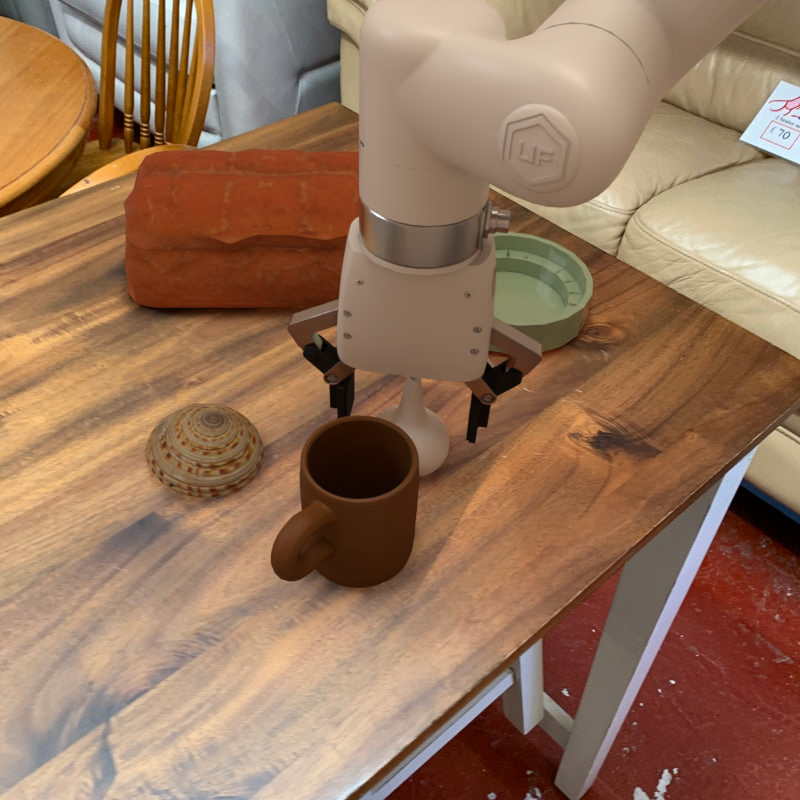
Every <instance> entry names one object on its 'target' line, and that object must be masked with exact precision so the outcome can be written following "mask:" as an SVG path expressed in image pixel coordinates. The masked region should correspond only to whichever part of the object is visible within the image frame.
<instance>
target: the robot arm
mask: <svg viewBox="0 0 800 800" xmlns="http://www.w3.org/2000/svg"><path fill="white" fill-rule="evenodd" d="M768 1H769V0H564V1H563V3H561V4H560V6H559V7H557V9H556V10H555V11H554V12H553V13H551V15H550V16H548V18H546V19H545V20H544V21H543V22H542V23H541V24H540V25H539V27H538V28H537V29H536V30H535V31H534V32H533V33H531V34H529V35H525V36H522V37H519V38H515V39H508V34H507V28H506V25H505V24H506V23H505V21H504V19H503V16H502V15H501V13H500V12H499V10H498V9H497V8H495V6H493V4H491V3H490V2H489V1H487V0H376V1H374V2H373V3H372V4H371V5H370V6H369V7H368V9H367V11H366V12H365V13H364V16H363V18H362V21H361V25H360V29H359V43H358V44H359V45H358V152H359V217H357V218H356V219H355V220H354V221H353V222H352V223H351V226H350V229H349V233H348V237H347V242H346V248H345V254H344V260H343V266H342V273H341V281H340V292H339V299H337V300H334V301H331V302H328V303H325V304H322V305H319V306H313V307H309V308H306V309H304V310H300V311H298V312H295V313H293V314H292V315H291V316H290V319H289V322H288V324H287V327H286V330H287V332H288V334H289V335H290V337H291V338H292V340H294V342H295V344H296V345H297V346H298V348H300V349H301V351H302V356H303V358H304V359H305V360H306V361H307V362H308V363H310V365H312V366H313V367H315V369H317V370H318V371H319V372H320V373H322V374H323V375H322V379H323V381H324V382H325V384H327V385H329V386H328V387H329V388H328V389H329V408H330V409H336V417H337V418H336V419H338V418H342V417H346V416H352V415H351V414H352V411H353V406H354V403H355V398H356V397H355V396H356V394H355V391H356V388H355V387H356V386H355V383H356V382H355V381H356V380H355V377H356V376H355V371H356V370H360V371H365V372H371V373H379V374H383V375H384V374H386V375H391V376H392V375H393V376H400V377H406V378H407V377H416V378H421V379H425V380H432V381H443V382H451V383H452V382H453V383H464V384H465V385H466V387H467V388H468V389H469V390H470V392H471V396H470V403H469V410H468V419H467V428H466V436H465V441H467V442H468V443H469V444H476V442H477V435H478V428H482V429H483V428H484V429H488V426H489V419H490V414H491V408H492V407H491V406H492V405H494V404H495V403H496V402H497V401H498V400H497V399H498V397H499V396H501V395H502V394H504V393H506V392H509V391H510V390H513V389H514V388H515V387H517V386H520V385H521V383H522V381H523V378H524V377H526V376H528V375H530V373H531V372H532V371H533V370H534V369H535V368H536V367H538V365H540V363H541V362H542V360H543V352H542V345H541V344H540V343H539V342H537V341H535V340H534V339H532V338H530V337H528V336H527V335H525V334H523V333H522V332H520V331H518V330H517V329H515V328H513V327H511V326H510V325H508V324H506V323H505V322H503V321H501V320H499V319H498V318H496V317H494V316H493V315H494V303H495V291H496V250H495V242H494V236H493V234H495V232H500V233H508V232H509V230H510V222H511V213H512V212H511V210H509V209H508V210H507V209H500V208H499V206H493V200H489V194H490V187H491V186H493V187H495V188H496V189H499V190H501V191H502V192H505V193H507V194H509V195H511V196H512V197H515V198H516V199H517V198H518V199H519V200H523V201H525V202H528V203H530V204H534V205H537V206H541V207H545V208H546V207H547V208H559V209H561V208H564V209H565V208H572V207H577V206H581V205H584V204H586V203H588V202H590V201H593V200H594V199H595V198H597V197H599V196H600V195H601V194H603V193H604V192H605V191H606V190H608V189H609V187H610V186H611V185H612V184H613V183H614V181H615V180H616V179H617V178H618V177H619V175H621V173H622V170H623V169H624V168H625V166H626V164H627V163H628V161H629V158H630V157H631V155H632V153H634V152H633V151H635V148H636V146H637V145H638V143H639V141H640V139H641V137H642V135H643V133H644V132H645V129H646V127H647V125H648V123H649V122H650V120H651V118H652V116H653V115H654V113H655V111H656V109H657V108H658V106H659V105H660V103H661V101H662V100H663V99H664V98H665V96H667V94H668V93H669V92H670V91H671V90H672V89H673V88H674V87H675V86H676V85H677V84H678V83H679V82H680V81H681V80H682V79H683V78H684V77H685V76H686V75H687V74H689V73H690V71H691V70H692V69H694V68H695V66H697V65H698V64H699V63H700V62H701V61H702V60H703V59H704V58H705V57H707V55H708V54H710V53H711V52H712V51H713V50H714V49H715V48H716V47H717V46H719V44H721V43H722V42H723V41H724V40H725V39H726V38H727V37H728V36H729V35H730V34H732V32H734V31H735V30H736V29H737V28H738V27H739V26H741V24H743V23H744V22H745V21H746V20H747V19H748V18H749V17H751V16H752V15H753V14H754V13H755V12H756V11H758V10H759V9H761V8H762V6H763V5H765V4H766V3H767V2H768ZM490 185H491V186H490ZM334 327H336V346H334V345H333V344H331V343H330V342H329V341H328V339H326V338H325V337H324V336H323V335H321V334H319V333H318V332H321V331H324V330H327V329H330V328H334ZM490 344H492V345H494V346H495V347H497V348H499V349H501V350H502V351H504V352H506V353H505V354H507V355H509V356H511V357H510V358H507V359H506V360H504V361H502V362H500V363H498V364H497V365H495V364H494V363H493V361H491V359H490V358H489V352H490V351H489V348H490Z"/></svg>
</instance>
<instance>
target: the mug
mask: <svg viewBox="0 0 800 800" xmlns="http://www.w3.org/2000/svg"><path fill="white" fill-rule="evenodd" d="M299 459H300V460H299V493H300V507H301V510H300V511H298V512H296V513H295V514H293V515H292V516H291V517H290V518H289V519H288V520H287V521H286V522H285V523H284V524H283V526H282V527H281V529H280V530H279V532H278V533H277V535H276V537H275V539H274V541H273V542H272V543H273V544H272V548H271V551H270V565H271V568H272V570H273V573H274V575H276V576H277V578H279V579H280V580H282V581H285V582H288V583H289V582H297V581H301V580H304V578H306V577H307V576H309V575H310V574H312V573H313V572H314V571H316V572H317V573H318V574H319V575H320V576H321V577H323V578H324V579H325V580H328V581H329V582H331V583H333V584H334V585H338V586H341V587H345V588H350V589H369V588H373V587H377V586H380V585H382V584H384V583H386V582H389V581H391V579H393V578H395V577H397V575H398V574H400V573H401V571H402V570H403V569H404V568H405V566H406V565H407V563H408V561H409V560H410V558H411V555H412V552H413V550H414V549H413V548H414V542H415V534H416V524H417V522H416V521H417V516H418V505H419V504H418V503H419V492H420V477H419V456H418V451H417V448H416V446H415V444H414V442H413V441H412V439H411V438H410V437H409V435H408V434H407V433H406V432H405V431H404V430H403V429H401V428H400V427H399V426H397V425H395V424H394V423H392V422H389V421H387V420H384V419H381V418H378V417H376V416H373V415H365V414H363V415H361V414H358V415H357V414H356V415H350V416H346V417H342V418H338V419H337V418H335V419H331V420H330V421H327V422H326V423H324V424H322V425H321V426H319V427H318V428H316V429H315V430H313V432H312V433H311V434H310V435H309V437H308V438H307V440H306V441H305V443H304V445H303V446H302V450H301V452H300V458H299Z"/></svg>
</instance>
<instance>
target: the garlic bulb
mask: <svg viewBox="0 0 800 800" xmlns="http://www.w3.org/2000/svg"><path fill="white" fill-rule="evenodd" d="M375 417H378V418H381V419H384V420H387V421H389V422H392V423H394V424H395V425H397V426H399V427H400V428H401V429H403V430H404V431H405V432H406V433H407V434H408V435H409V437H410V438H411V439H412V441H413V442H414V444H415V446H416V448H417V451H418V456H419V478H420V477H421V478H422V477H425V476H427V475H430V474H432V473H434V472H435V471H436V470H438V469H439V468H440V467H441V466H442V465H443V464H444V462H445V460H446V459H447V456H448V453H449V450H450V436H449V432H448V429H447V426H446V425H445V423H444V422H443V420H442V419H441V418H440V417H439V416H438V415H437V414H436V413H435V412H434V411H432V409H431V410H430V409H429V408H427V407H425V402H424V391H423V384H422V378H416V377H407V376H406V377H405V381H404V386H403V390H402V394H401V398H400V401H399V402H398V404H395V405H392V406H389V407H387V408H385V409H383V410H382V411H381V412H379V413H377V415H376V416H375Z"/></svg>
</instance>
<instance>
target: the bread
mask: <svg viewBox="0 0 800 800" xmlns="http://www.w3.org/2000/svg"><path fill="white" fill-rule="evenodd" d="M123 209H124V214H125V230H124V231H125V232H124V236H125V248H124V249H125V251H124V252H125V253H124V272H125V277H126V283H127V284H126V288H127V289H126V293H127V294H128V295H129V296H130V297H131V299H132V300H133V301H134V302H135V303H136V305H140V306H144V307H151V308H155V309H158V308H160V309H161V308H162V309H164V308H169V309H170V308H173V309H174V308H175V309H176V308H177V309H178V308H179V309H180V308H181V309H182V308H184V309H186V308H187V309H188V308H191V309H193V308H196V309H197V308H198V309H199V308H200V309H201V308H203V309H204V308H208V309H209V308H211V309H212V308H213V309H214V308H217V309H218V308H219V309H221V308H223V309H224V308H225V309H227V308H228V309H230V308H231V309H248V308H251V309H252V308H289V307H290V308H292V307H293V308H295V307H296V308H297V307H299V308H300V307H301V308H304V307H305V308H306V307H309V308H313V307H316V306H319V305H322V304H325V303H328V302H331V301H334V300H337V299H339V292H340V281H341V273H342V266H343V260H344V254H345V248H346V242H347V237H348V233H349V229H350V226H351V223H352V222H353V221H354V220H355V219H356V218H357V217H359V151H343V150H340V151H339V150H329V151H327V150H325V151H305V150H300V149H299V150H298V149H296V148H295V149H294V148H285V149H264V148H249V149H243V150H238V151H227V150H226V151H225V150H218V149H217V150H216V149H191V150H190V149H187V150H186V149H182V150H161V151H155V152H152V153H149V154H146V155H145V156H144V157H143V159H142V161H141V162H140V164H139V166H138V168H137V171H136V176H135V180H134V185H133V189H132V190H131V192H130V193H129V195H128V196H127V198H126V199H125V200H124V202H123Z"/></svg>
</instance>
